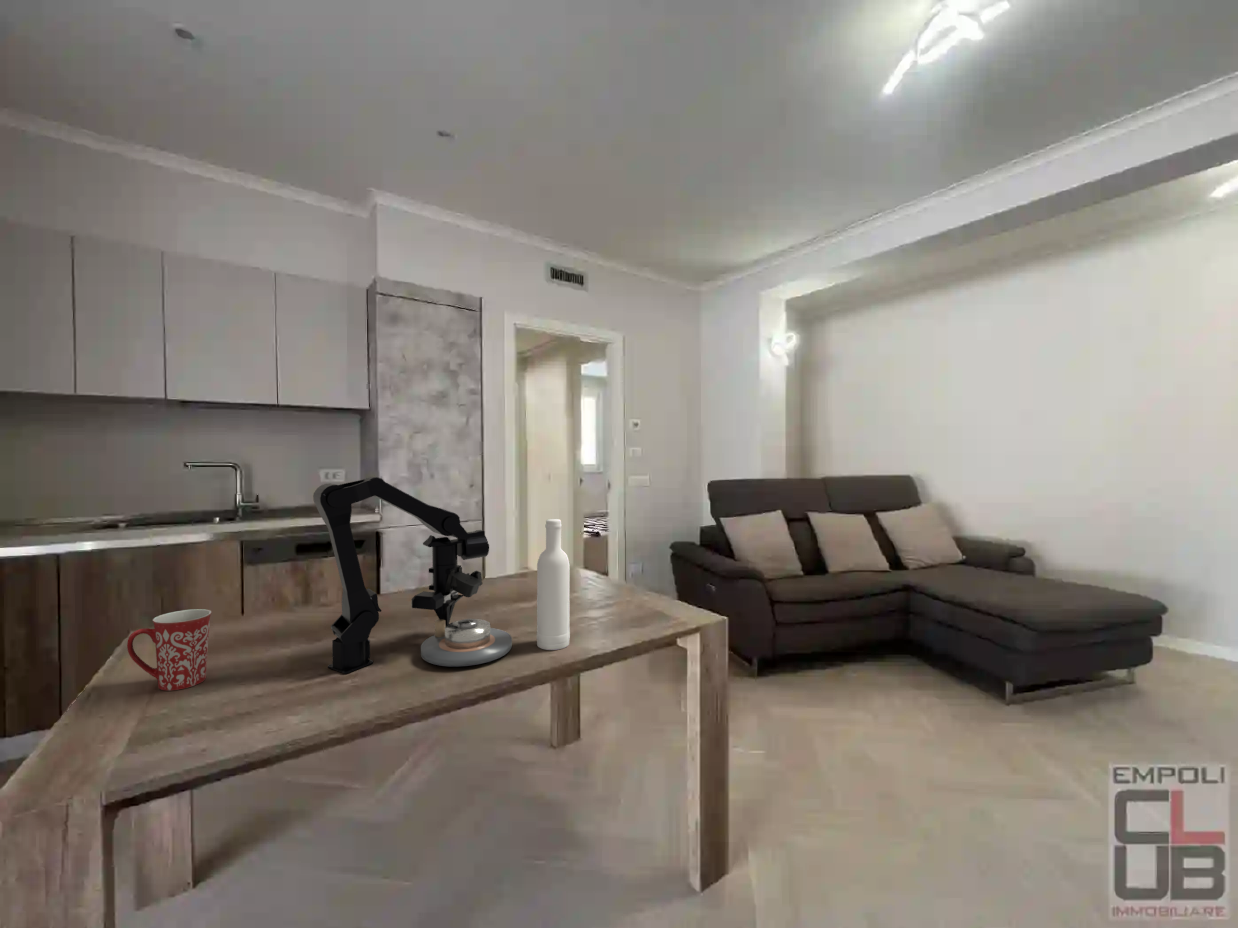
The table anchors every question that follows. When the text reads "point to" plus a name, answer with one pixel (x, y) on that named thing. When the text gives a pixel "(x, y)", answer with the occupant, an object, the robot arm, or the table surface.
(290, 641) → the table surface
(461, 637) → the cover
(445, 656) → the turntable
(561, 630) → the bottle
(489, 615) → the table surface
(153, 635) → the mug
